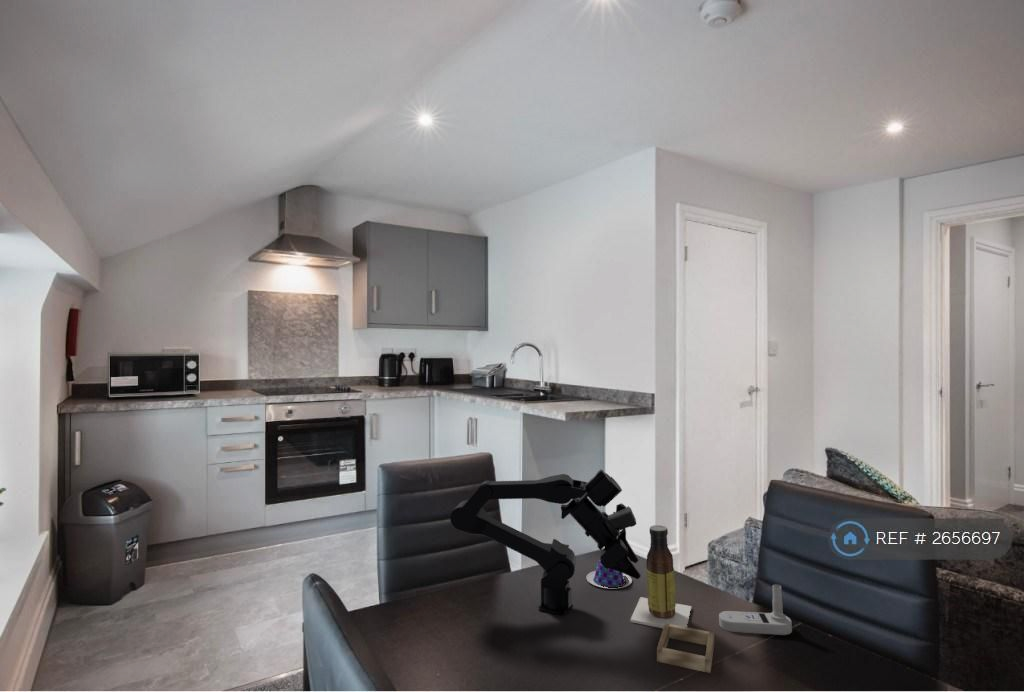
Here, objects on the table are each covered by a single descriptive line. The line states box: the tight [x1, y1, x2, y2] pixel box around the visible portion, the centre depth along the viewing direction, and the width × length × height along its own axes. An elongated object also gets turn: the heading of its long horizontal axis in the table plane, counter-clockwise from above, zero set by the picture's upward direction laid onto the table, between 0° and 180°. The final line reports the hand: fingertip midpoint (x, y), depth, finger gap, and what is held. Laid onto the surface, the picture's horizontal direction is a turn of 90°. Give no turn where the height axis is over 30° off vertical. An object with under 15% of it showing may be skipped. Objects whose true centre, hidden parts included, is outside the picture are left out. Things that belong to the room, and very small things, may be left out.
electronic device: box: [718, 584, 793, 636], centre depth 122 cm, size 5×10×15 cm
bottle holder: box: [656, 623, 715, 674], centre depth 112 cm, size 10×11×2 cm
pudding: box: [586, 559, 633, 590], centre depth 147 cm, size 12×12×5 cm
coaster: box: [630, 596, 692, 629], centre depth 128 cm, size 12×12×1 cm
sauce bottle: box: [645, 524, 677, 618], centre depth 128 cm, size 7×6×20 cm
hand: (638, 569), depth 129 cm, fingers open, 9 cm apart
